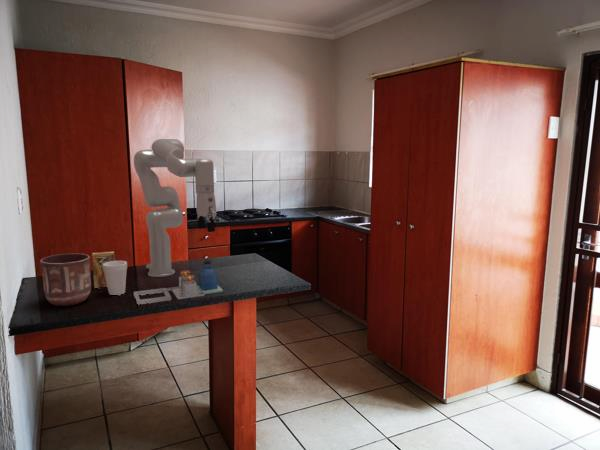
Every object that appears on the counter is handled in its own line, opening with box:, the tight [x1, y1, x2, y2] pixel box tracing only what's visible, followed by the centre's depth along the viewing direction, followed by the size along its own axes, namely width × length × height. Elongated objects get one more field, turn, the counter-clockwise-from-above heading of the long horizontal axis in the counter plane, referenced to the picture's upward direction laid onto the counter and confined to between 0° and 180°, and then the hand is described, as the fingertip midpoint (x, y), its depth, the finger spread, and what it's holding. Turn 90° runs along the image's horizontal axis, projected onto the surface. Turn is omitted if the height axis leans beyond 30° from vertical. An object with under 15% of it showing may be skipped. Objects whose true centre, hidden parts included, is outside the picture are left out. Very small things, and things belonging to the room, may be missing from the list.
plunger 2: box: [184, 274, 195, 284], centre depth 190 cm, size 4×4×7 cm
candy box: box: [91, 251, 116, 289], centre depth 202 cm, size 9×4×15 cm, turn 110°
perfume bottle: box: [198, 259, 219, 291], centre depth 198 cm, size 6×6×12 cm
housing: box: [133, 275, 206, 306], centre depth 191 cm, size 26×14×6 cm, turn 116°
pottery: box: [39, 252, 92, 307], centre depth 182 cm, size 18×18×18 cm
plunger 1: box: [179, 269, 191, 279], centre depth 197 cm, size 4×4×7 cm
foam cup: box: [103, 260, 128, 296], centre depth 193 cm, size 10×9×13 cm
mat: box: [197, 285, 224, 295], centre depth 199 cm, size 10×10×1 cm
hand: (206, 229), depth 195 cm, fingers open, 9 cm apart
